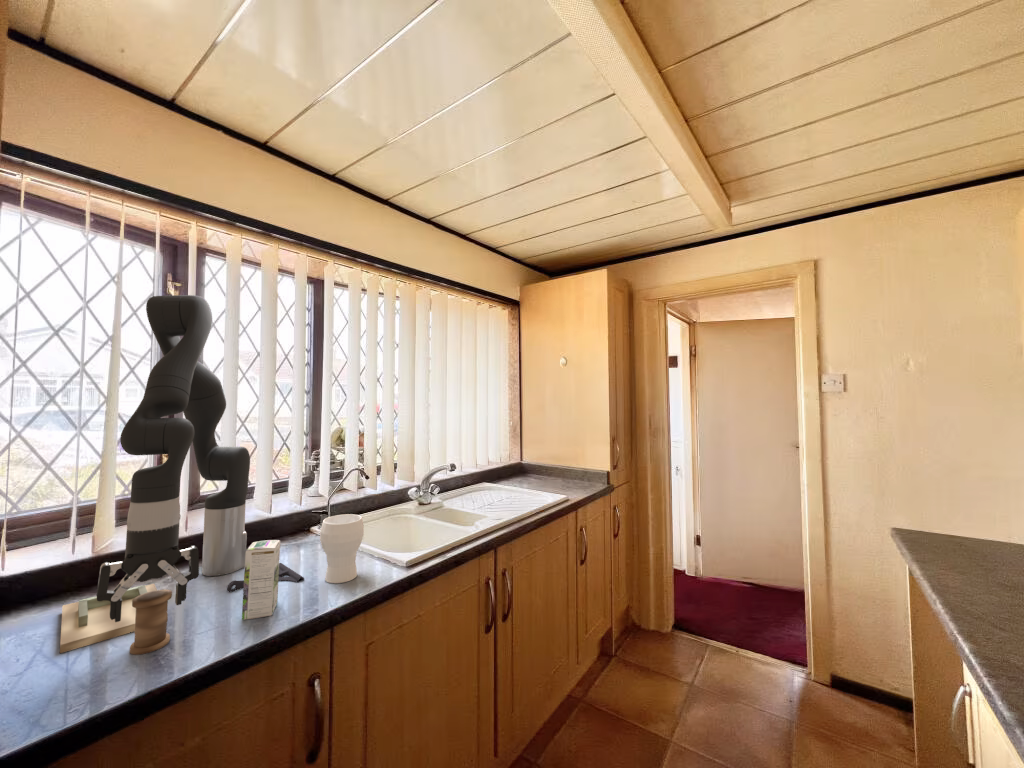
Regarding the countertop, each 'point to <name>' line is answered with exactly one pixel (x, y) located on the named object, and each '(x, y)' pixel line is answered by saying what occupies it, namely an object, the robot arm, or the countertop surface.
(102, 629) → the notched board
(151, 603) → the wooden bobbin
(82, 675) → the countertop surface
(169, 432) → the robot arm
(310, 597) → the countertop surface
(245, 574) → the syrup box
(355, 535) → the cup
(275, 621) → the countertop surface
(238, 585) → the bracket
